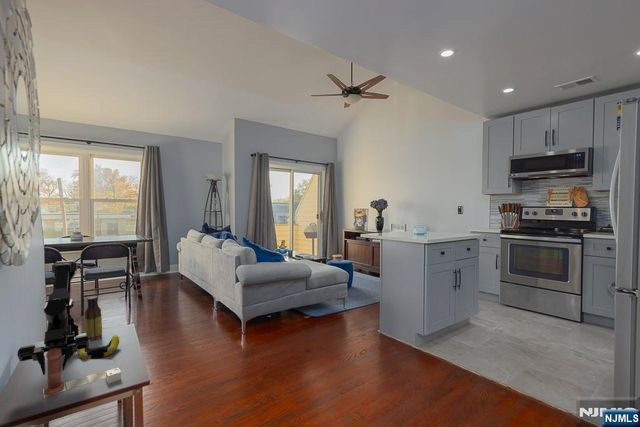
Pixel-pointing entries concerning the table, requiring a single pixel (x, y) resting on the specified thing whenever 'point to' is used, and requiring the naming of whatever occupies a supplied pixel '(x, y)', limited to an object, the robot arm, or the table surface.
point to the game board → (82, 381)
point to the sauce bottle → (93, 319)
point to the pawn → (54, 372)
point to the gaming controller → (99, 350)
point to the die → (113, 375)
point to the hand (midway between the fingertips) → (53, 372)
